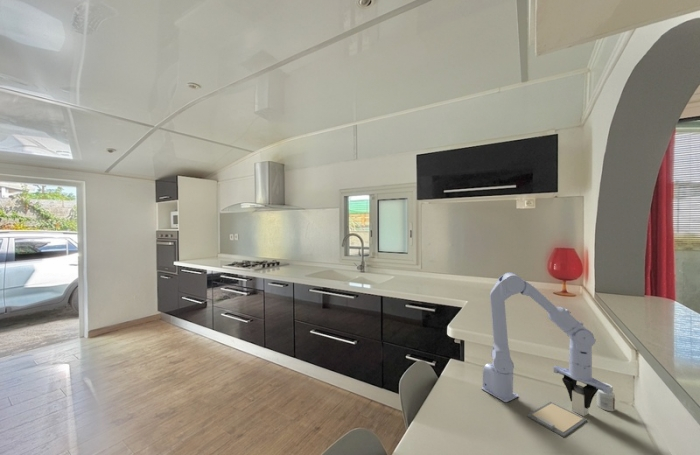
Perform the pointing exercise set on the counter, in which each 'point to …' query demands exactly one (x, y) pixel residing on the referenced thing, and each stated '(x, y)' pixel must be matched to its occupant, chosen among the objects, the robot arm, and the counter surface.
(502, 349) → the robot arm
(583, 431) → the counter surface
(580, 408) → the block with domed cap
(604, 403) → the pill bottle
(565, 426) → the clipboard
